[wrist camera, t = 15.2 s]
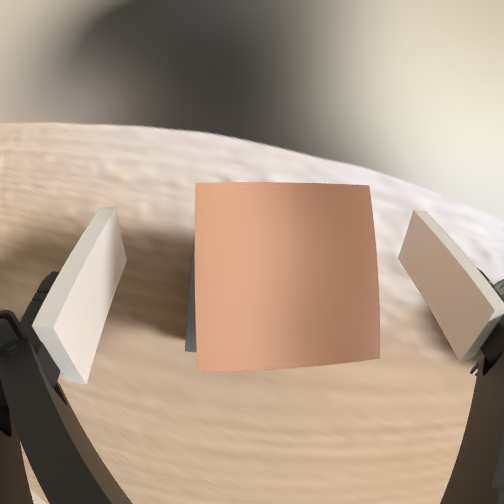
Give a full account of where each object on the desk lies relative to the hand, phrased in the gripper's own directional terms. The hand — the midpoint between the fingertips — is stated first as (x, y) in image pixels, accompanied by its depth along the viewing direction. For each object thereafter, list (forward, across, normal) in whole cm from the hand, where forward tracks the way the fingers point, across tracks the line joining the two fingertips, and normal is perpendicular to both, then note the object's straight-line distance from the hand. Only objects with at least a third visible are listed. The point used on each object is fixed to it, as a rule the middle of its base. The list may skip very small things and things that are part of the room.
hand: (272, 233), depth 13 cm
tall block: (+3, 0, -6) cm, 7 cm away
